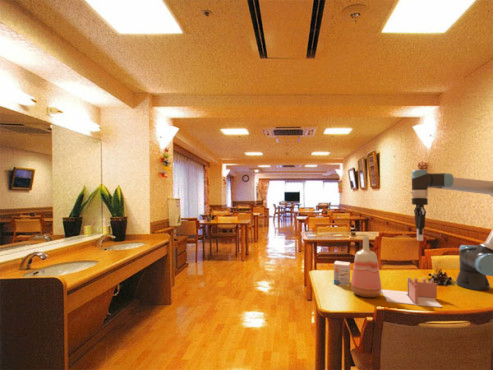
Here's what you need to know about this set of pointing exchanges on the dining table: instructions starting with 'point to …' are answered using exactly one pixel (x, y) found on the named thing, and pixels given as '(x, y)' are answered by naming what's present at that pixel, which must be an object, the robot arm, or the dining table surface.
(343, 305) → the dining table surface
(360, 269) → the vase
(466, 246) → the robot arm
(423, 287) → the fixed fence panel
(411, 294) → the folding fence panel
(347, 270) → the ink box
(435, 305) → the card
